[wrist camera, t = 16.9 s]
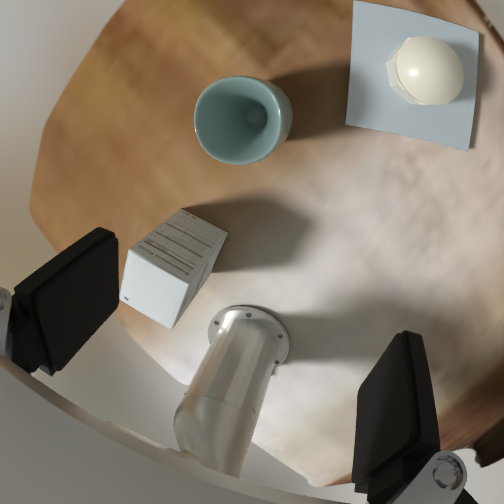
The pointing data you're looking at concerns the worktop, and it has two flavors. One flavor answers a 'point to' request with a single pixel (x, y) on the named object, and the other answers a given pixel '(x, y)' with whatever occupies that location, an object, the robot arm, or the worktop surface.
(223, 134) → the cup
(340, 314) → the worktop surface
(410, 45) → the cap
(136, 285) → the supplement box
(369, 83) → the stud plate
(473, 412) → the worktop surface
